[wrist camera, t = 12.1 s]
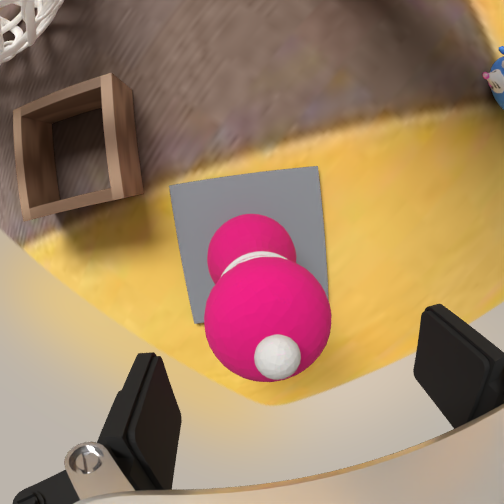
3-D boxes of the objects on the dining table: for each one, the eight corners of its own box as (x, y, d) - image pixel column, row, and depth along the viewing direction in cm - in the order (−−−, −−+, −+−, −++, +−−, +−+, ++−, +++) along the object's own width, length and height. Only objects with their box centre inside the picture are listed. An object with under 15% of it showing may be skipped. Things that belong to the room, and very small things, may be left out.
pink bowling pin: (245, 297, 31) (268, 457, 12) (194, 244, 30) (138, 363, 10) (301, 248, 31) (403, 361, 11) (251, 192, 29) (295, 226, 10)
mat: (170, 185, 29) (169, 185, 28) (316, 166, 29) (317, 166, 29) (195, 321, 32) (194, 323, 32) (327, 301, 33) (328, 303, 32)
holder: (44, 117, 26) (13, 110, 20) (132, 89, 26) (111, 72, 20) (54, 212, 28) (23, 221, 23) (144, 193, 29) (124, 197, 23)
